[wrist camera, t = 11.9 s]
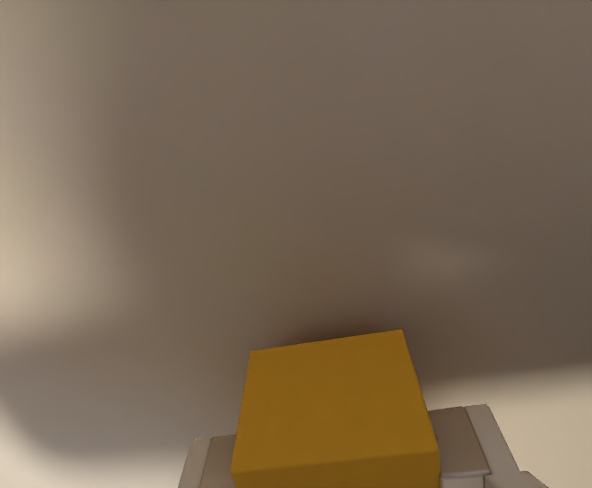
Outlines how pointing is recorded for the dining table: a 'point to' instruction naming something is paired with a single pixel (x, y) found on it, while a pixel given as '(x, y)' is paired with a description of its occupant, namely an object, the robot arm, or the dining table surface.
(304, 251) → the dining table surface
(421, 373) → the dining table surface
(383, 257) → the dining table surface
